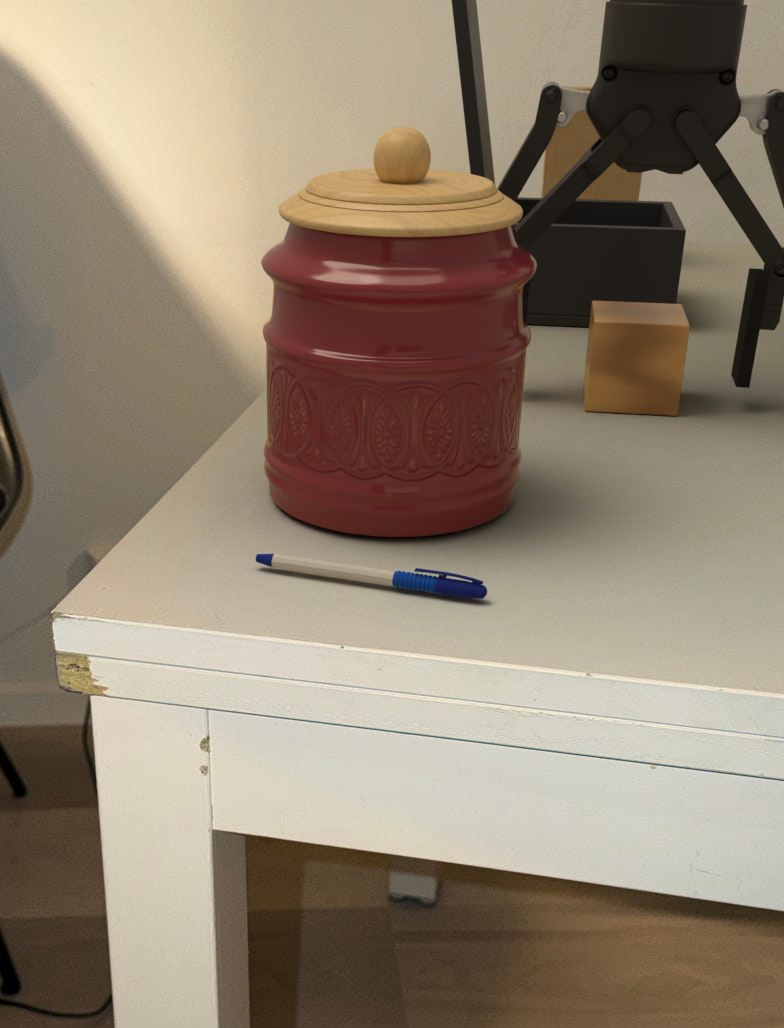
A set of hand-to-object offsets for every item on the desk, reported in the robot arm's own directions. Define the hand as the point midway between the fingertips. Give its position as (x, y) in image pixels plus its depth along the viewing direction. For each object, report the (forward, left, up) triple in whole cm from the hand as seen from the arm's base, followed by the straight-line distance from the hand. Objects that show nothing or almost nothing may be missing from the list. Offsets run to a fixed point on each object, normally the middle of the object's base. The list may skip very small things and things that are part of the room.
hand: (626, 375), depth 81 cm
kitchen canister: (-4, +22, -2) cm, 23 cm away
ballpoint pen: (-12, +30, -2) cm, 32 cm away
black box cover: (+25, -10, +14) cm, 30 cm away
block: (0, 0, -2) cm, 2 cm away
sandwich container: (+35, -34, -2) cm, 49 cm away
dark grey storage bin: (+19, -16, -2) cm, 25 cm away
